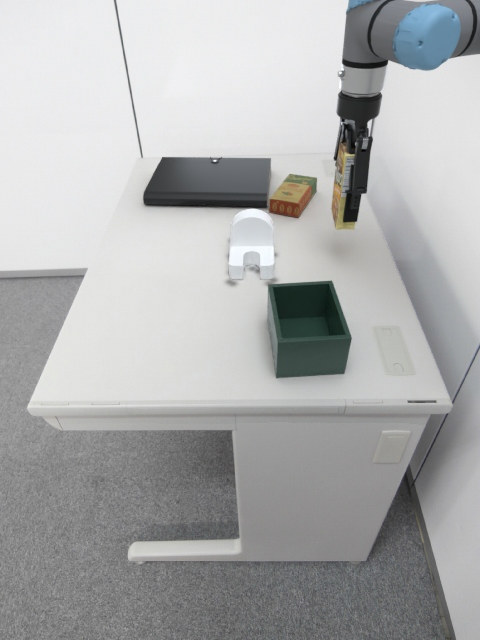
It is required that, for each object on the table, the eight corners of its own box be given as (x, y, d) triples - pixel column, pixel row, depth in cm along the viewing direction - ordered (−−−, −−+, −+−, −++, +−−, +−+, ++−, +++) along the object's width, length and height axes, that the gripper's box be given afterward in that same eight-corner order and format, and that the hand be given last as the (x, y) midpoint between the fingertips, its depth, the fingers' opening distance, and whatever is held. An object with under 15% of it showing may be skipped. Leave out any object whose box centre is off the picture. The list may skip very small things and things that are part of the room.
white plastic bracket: (272, 234, 107) (273, 192, 99) (274, 279, 94) (275, 235, 86) (233, 234, 107) (231, 193, 100) (229, 279, 94) (226, 236, 87)
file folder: (271, 156, 130) (267, 196, 113) (270, 169, 133) (266, 210, 116) (162, 155, 133) (141, 194, 116) (164, 168, 136) (144, 208, 119)
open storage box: (344, 373, 74) (352, 337, 68) (276, 378, 74) (277, 342, 68) (327, 315, 85) (332, 280, 79) (267, 319, 85) (267, 284, 79)
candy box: (330, 209, 96) (338, 137, 86) (349, 208, 96) (360, 137, 86) (335, 230, 90) (344, 155, 79) (356, 230, 89) (368, 155, 79)
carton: (268, 213, 114) (268, 197, 111) (288, 186, 125) (289, 172, 122) (299, 218, 112) (299, 203, 109) (316, 191, 122) (318, 176, 119)
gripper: (326, 76, 84) (316, 186, 99) (354, 112, 68) (337, 238, 83) (365, 74, 84) (349, 184, 99) (402, 110, 68) (377, 236, 83)
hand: (344, 209), depth 91 cm, fingers closed on candy box, 9 cm apart
